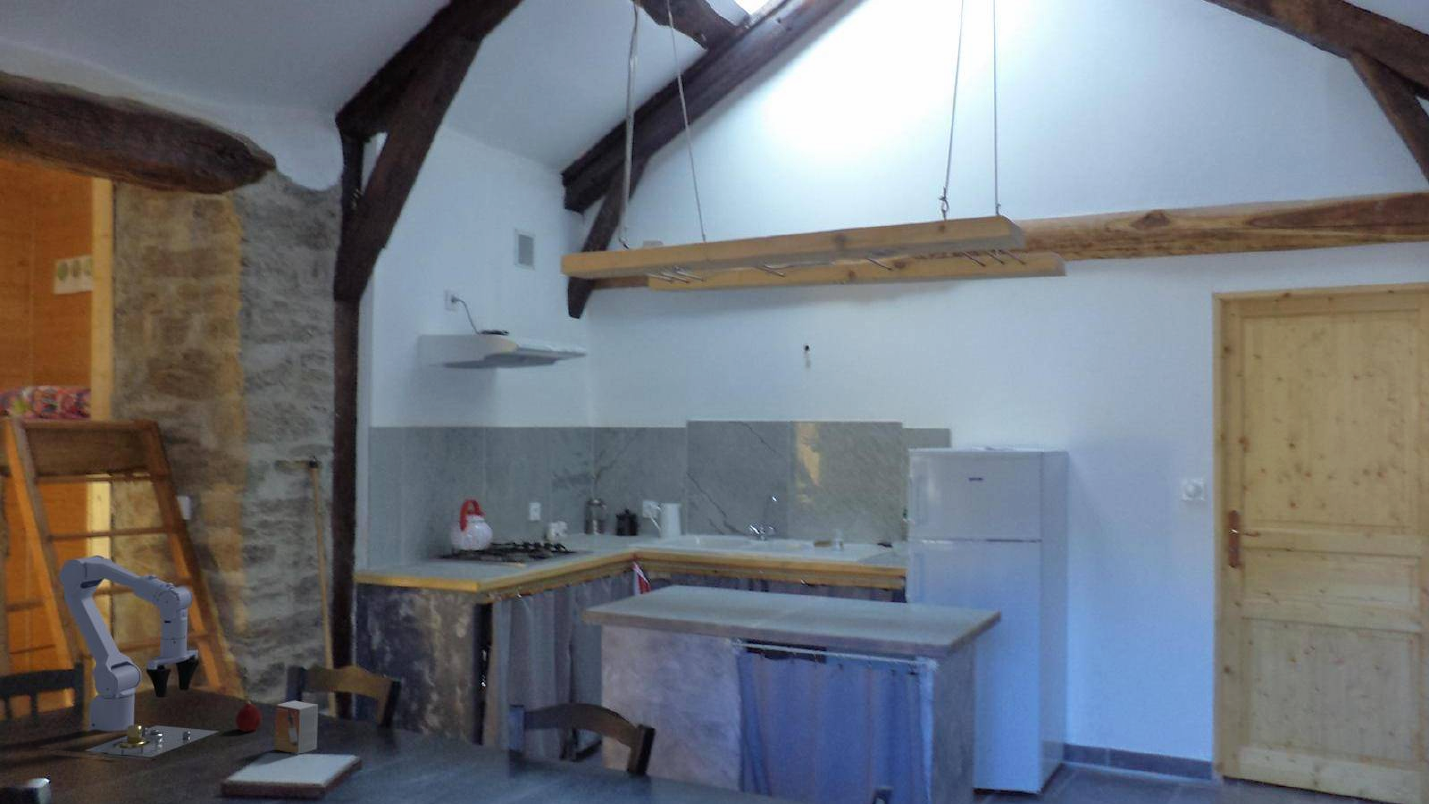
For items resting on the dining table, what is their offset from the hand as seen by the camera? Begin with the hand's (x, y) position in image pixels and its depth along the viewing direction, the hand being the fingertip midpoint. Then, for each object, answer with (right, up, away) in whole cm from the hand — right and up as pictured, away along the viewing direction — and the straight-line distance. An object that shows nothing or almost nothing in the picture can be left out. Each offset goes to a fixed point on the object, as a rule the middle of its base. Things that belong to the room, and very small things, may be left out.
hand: (172, 693), depth 266 cm
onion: (+18, -10, +1) cm, 21 cm away
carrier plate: (0, -10, -9) cm, 13 cm away
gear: (-1, -8, -16) cm, 18 cm away
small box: (+35, -10, -12) cm, 38 cm away
